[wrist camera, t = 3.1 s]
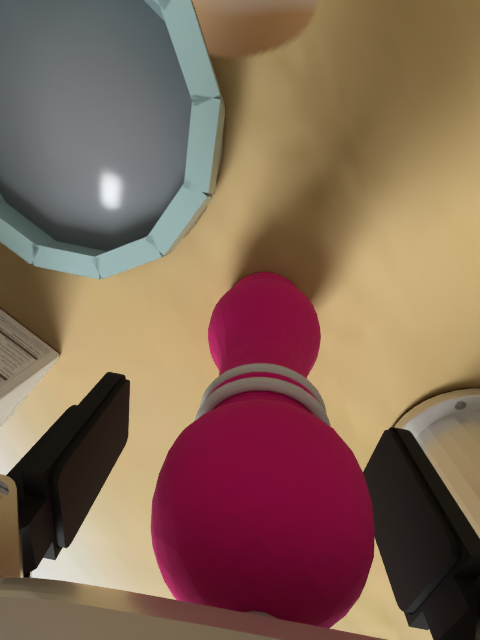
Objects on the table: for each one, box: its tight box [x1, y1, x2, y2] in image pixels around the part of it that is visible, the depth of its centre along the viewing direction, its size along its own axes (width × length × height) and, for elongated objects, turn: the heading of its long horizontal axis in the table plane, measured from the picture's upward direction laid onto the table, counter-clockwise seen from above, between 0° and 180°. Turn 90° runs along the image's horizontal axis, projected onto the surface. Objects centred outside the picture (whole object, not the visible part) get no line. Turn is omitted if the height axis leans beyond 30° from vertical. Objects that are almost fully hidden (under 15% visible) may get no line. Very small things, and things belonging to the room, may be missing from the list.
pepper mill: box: [151, 272, 375, 628], centre depth 14 cm, size 7×7×20 cm
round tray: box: [0, 0, 225, 279], centre depth 17 cm, size 18×18×3 cm
